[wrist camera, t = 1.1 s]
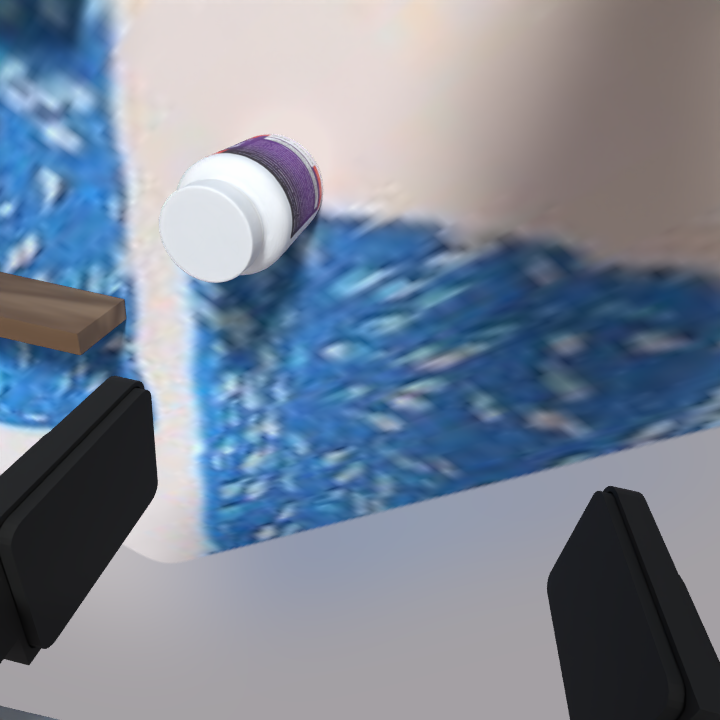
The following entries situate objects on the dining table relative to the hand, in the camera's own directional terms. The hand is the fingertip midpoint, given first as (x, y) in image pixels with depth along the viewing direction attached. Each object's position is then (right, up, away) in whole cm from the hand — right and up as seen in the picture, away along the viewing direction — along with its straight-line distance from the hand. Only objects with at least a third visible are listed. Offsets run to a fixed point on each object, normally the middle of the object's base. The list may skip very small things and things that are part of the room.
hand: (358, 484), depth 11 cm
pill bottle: (-5, +13, +18) cm, 23 cm away
